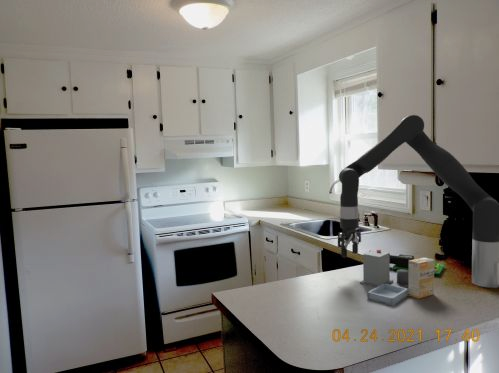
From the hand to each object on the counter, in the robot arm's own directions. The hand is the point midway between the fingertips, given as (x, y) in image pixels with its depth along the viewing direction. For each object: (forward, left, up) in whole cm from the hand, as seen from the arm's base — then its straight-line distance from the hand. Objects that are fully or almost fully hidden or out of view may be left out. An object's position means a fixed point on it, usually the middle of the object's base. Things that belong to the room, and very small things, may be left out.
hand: (349, 255), depth 167 cm
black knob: (-20, -6, -9) cm, 23 cm away
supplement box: (-30, +2, -10) cm, 32 cm away
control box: (-12, 0, -9) cm, 15 cm away
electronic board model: (-12, -27, -10) cm, 31 cm away
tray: (-22, +12, -9) cm, 27 cm away
